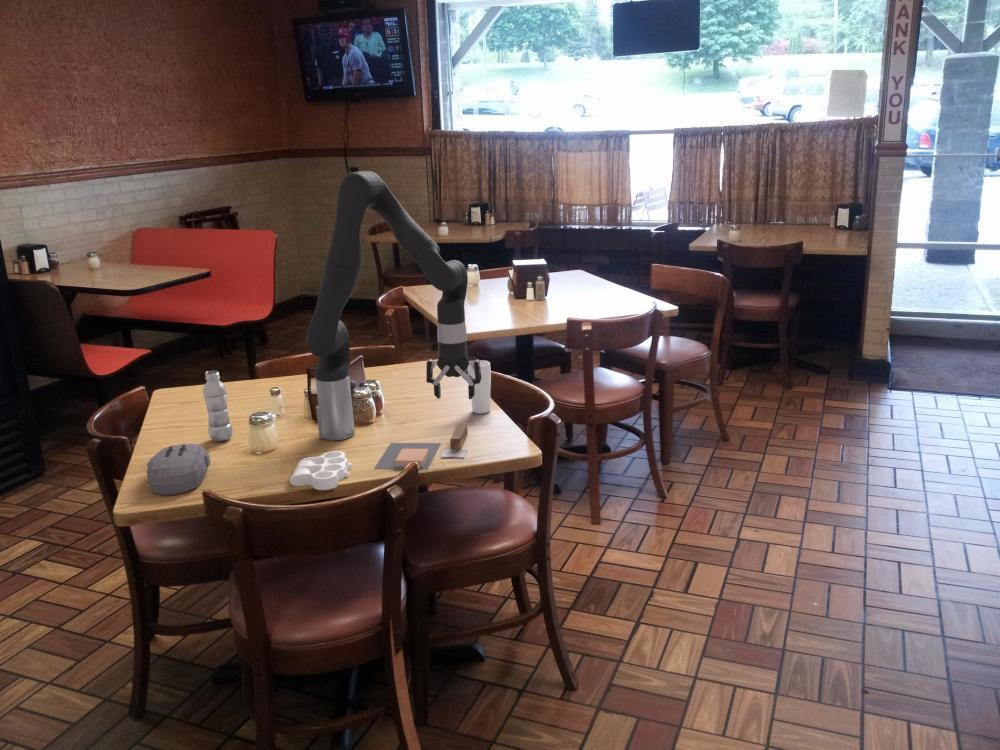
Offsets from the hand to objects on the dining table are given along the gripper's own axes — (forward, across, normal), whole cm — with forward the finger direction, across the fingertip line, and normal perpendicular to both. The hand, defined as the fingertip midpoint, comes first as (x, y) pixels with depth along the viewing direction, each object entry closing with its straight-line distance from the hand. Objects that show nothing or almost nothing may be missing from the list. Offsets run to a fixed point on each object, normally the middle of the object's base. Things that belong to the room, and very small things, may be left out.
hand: (454, 398), depth 233 cm
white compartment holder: (+15, -30, -20) cm, 39 cm away
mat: (+14, -12, -8) cm, 20 cm away
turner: (+14, 0, -1) cm, 14 cm away
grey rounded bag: (+15, -67, -24) cm, 73 cm away
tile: (+12, -10, -8) cm, 17 cm away
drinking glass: (+14, +2, +28) cm, 32 cm away
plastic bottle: (+15, -68, +4) cm, 70 cm away
